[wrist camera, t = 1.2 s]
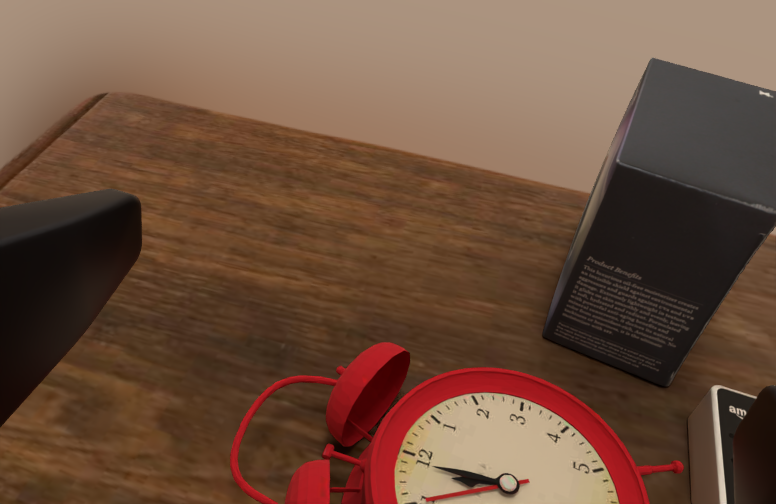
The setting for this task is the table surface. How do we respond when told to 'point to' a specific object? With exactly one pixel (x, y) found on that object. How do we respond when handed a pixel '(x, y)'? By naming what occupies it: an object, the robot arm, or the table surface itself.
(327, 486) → the alarm clock
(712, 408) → the multiport hub
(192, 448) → the table surface
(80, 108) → the table surface
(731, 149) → the small box
